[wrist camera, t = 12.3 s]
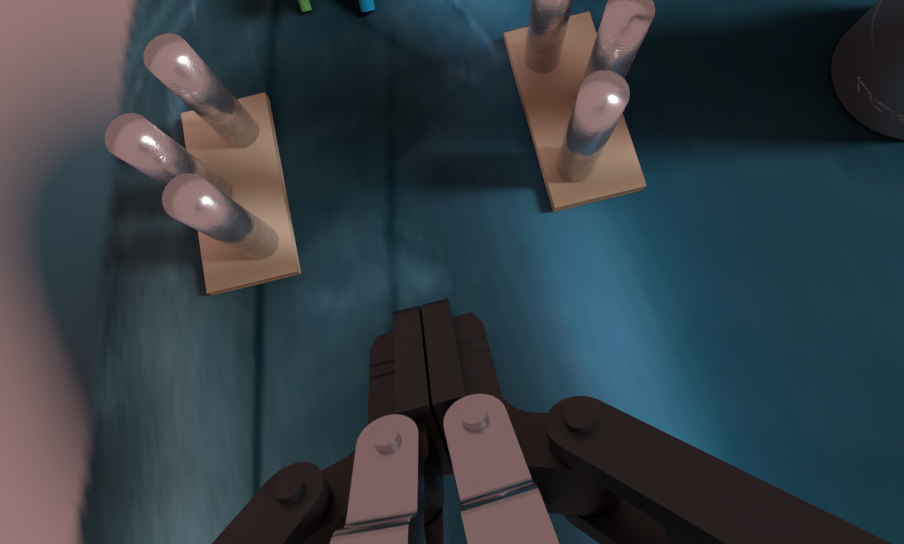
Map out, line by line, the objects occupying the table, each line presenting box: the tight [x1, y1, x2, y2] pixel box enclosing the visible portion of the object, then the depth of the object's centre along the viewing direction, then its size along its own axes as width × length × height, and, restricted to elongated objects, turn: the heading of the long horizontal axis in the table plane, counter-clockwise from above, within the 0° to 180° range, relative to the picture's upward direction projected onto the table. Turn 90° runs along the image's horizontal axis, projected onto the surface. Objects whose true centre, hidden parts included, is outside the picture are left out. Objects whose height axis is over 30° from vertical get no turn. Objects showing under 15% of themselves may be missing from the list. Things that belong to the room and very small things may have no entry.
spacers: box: [105, 0, 655, 260], centre depth 32 cm, size 10×28×9 cm, turn 103°
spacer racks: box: [181, 12, 647, 295], centre depth 36 cm, size 13×29×1 cm, turn 103°
